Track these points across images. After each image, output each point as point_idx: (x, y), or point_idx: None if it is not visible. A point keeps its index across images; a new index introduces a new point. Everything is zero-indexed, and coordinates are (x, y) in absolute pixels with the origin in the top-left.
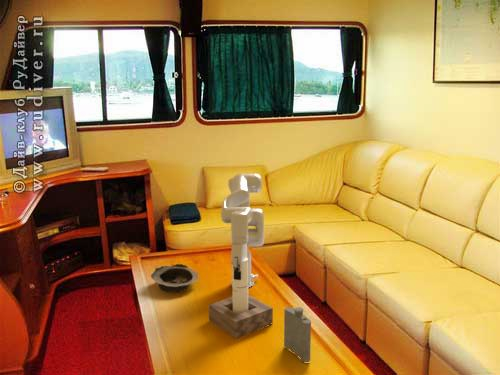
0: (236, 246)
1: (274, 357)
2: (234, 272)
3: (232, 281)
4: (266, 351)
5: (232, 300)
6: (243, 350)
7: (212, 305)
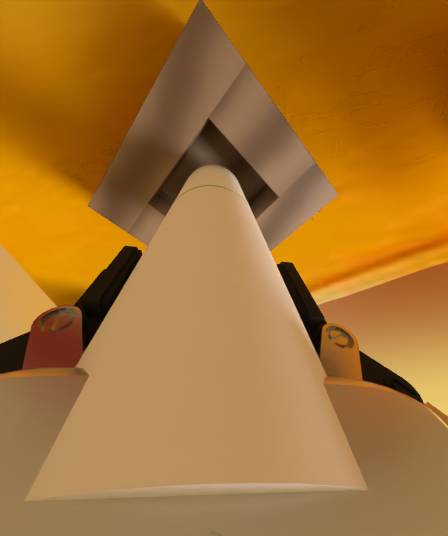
0: None
1: (83, 283)
2: (94, 294)
3: (182, 206)
4: (97, 268)
5: (266, 152)
6: (71, 220)
7: (197, 35)
